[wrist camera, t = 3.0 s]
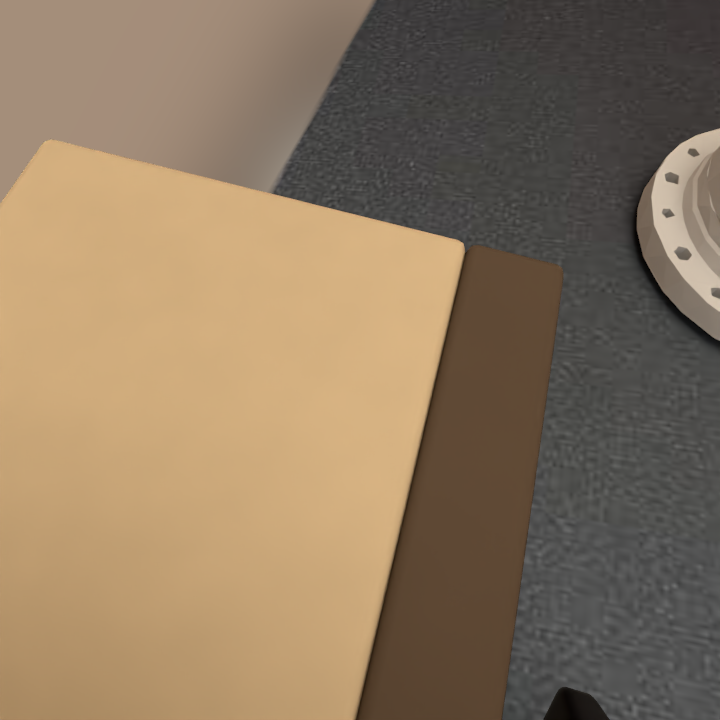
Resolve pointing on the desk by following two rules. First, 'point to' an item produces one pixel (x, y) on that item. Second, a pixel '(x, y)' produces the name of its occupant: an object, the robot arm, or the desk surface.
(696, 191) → the mechanical component
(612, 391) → the desk surface
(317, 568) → the back pad
